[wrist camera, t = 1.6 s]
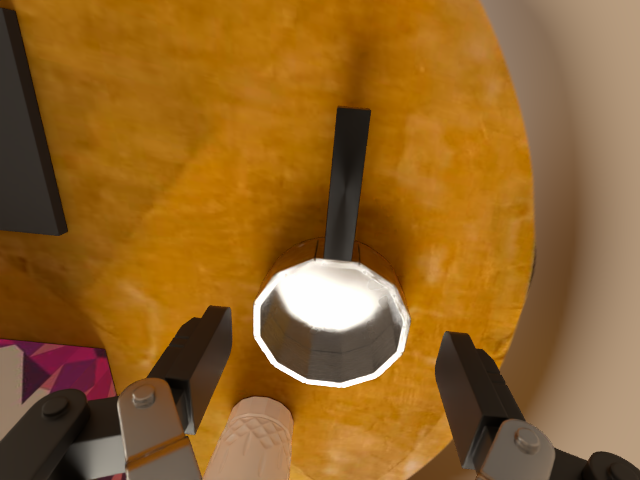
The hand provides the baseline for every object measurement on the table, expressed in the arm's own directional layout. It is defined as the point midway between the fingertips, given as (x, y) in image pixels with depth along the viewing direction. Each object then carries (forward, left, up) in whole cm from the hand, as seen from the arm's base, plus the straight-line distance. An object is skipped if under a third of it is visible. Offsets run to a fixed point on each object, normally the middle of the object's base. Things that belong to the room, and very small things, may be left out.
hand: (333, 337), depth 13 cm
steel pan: (+4, 0, -15) cm, 16 cm away
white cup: (+25, -6, -16) cm, 30 cm away
